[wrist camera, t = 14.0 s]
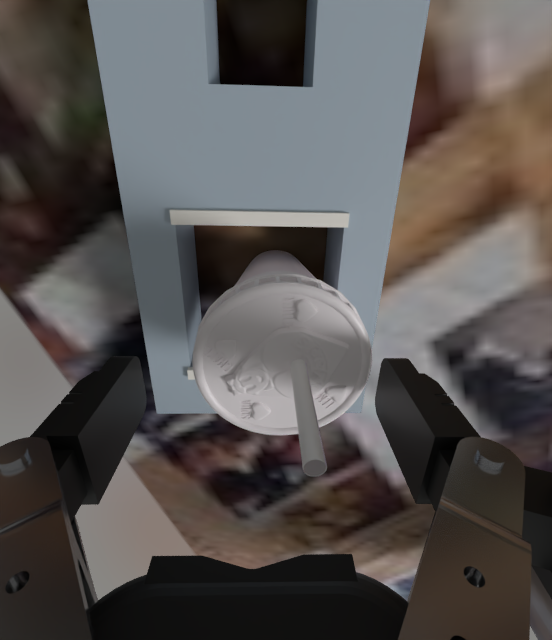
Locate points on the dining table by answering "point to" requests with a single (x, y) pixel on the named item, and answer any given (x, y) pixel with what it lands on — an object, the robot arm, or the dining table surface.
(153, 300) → the socket block
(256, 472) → the dining table surface
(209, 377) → the smoothie
